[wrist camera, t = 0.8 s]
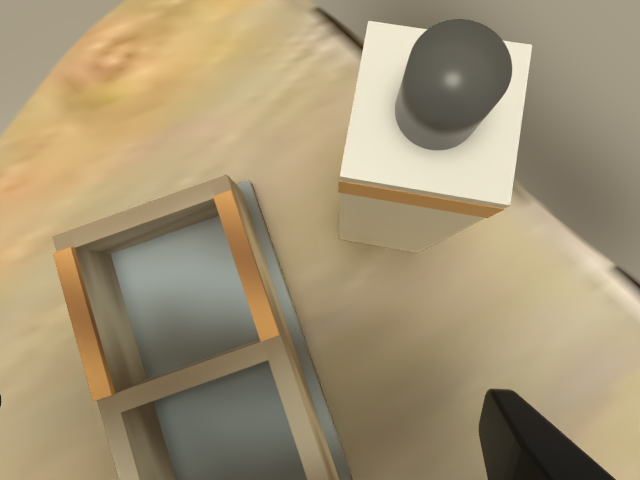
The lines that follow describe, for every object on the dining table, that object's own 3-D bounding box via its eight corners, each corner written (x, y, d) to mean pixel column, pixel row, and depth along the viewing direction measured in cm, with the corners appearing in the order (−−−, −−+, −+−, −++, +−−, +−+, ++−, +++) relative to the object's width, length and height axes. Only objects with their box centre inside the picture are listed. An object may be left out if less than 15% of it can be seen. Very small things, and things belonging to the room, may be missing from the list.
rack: (357, 494, 21) (362, 543, 17) (178, 558, 21) (139, 623, 17) (251, 184, 23) (233, 160, 19) (88, 242, 23) (34, 230, 19)
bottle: (417, 253, 22) (552, 185, 8) (338, 239, 22) (338, 149, 8) (430, 176, 23) (577, -13, 9) (352, 163, 23) (374, -42, 9)
